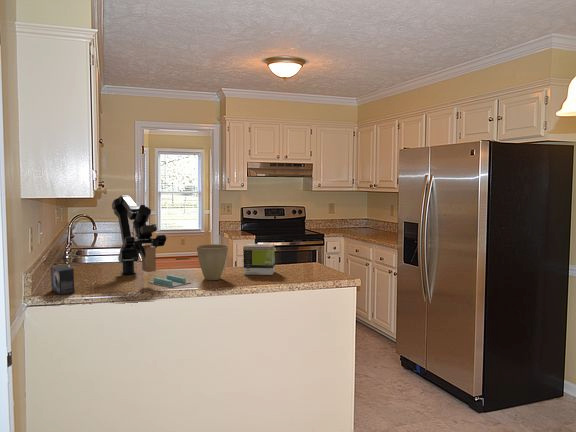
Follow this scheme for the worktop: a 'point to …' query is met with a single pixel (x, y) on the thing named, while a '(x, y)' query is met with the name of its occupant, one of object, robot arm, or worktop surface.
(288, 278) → the worktop surface
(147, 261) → the brown upright block
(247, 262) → the tea box
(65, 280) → the small box
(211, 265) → the plant pot
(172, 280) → the rack
